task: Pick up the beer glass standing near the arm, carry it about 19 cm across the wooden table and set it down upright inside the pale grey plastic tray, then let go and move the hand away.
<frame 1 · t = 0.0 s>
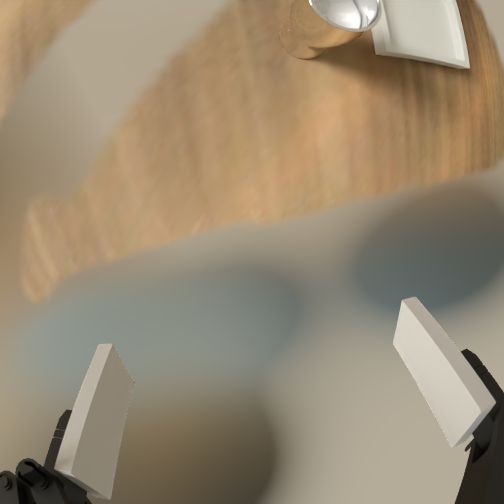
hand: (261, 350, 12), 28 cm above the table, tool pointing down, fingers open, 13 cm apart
beer glass: (302, 38, 29), on the table
tray: (412, 14, 27), on the table
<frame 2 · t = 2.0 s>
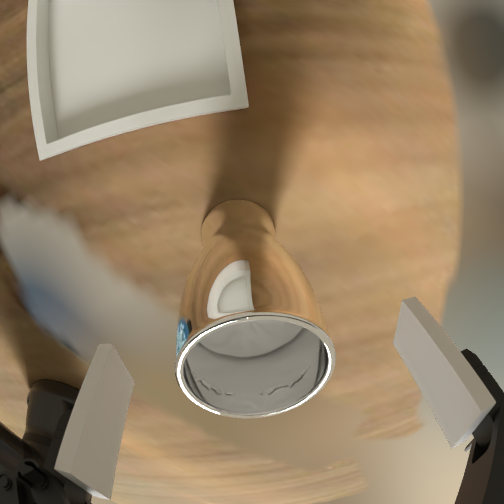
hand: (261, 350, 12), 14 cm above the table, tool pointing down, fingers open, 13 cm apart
beer glass: (237, 233, 25), on the table
tray: (129, 36, 17), on the table
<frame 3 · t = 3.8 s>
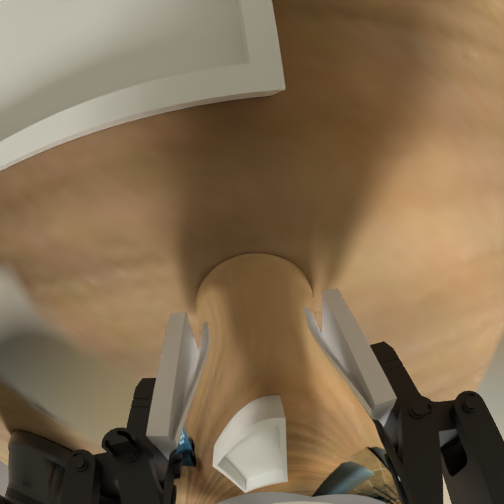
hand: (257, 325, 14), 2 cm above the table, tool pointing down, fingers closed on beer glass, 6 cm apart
beer glass: (254, 302, 16), on the table, touching gripper
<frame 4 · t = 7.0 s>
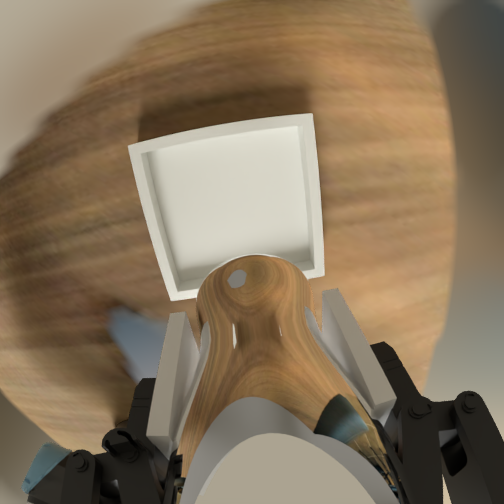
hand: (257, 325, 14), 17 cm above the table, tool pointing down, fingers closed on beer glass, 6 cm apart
beer glass: (254, 302, 16), point 15 cm above the table, touching gripper
tray: (233, 204, 29), on the table
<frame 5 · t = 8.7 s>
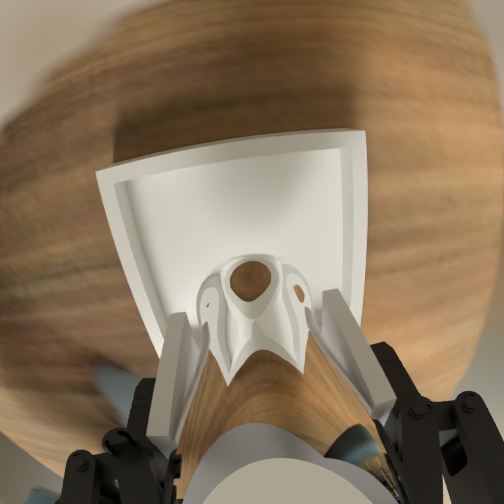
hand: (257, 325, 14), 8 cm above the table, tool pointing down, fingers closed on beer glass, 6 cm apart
beer glass: (254, 302, 16), point 7 cm above the table, touching gripper
tray: (245, 250, 21), on the table
when the fingers open (4 cm above the table, at t = 10.2 s): beer glass drops 2 cm, resting on tray.
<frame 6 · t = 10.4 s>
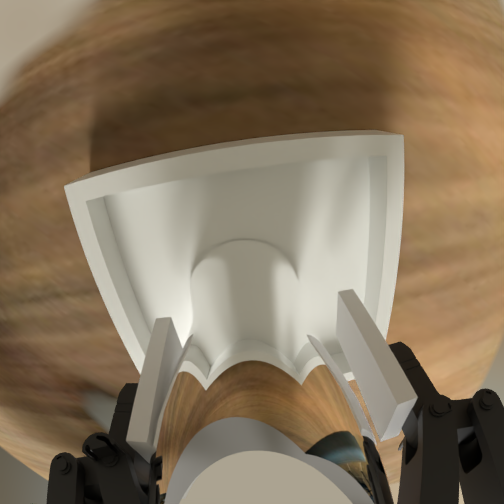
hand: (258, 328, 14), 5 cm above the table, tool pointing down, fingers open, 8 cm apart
beer glass: (243, 285, 17), point 1 cm above the table, touching gripper, tray
tray: (251, 277, 18), on the table
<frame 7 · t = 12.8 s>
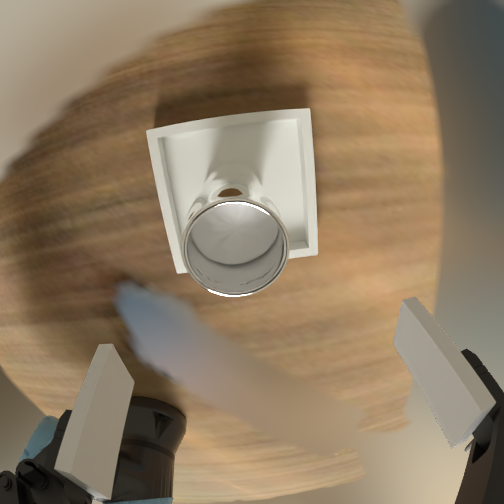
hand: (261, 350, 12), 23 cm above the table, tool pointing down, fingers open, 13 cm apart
beer glass: (232, 189, 31), point 1 cm above the table, touching tray
tray: (237, 187, 32), on the table
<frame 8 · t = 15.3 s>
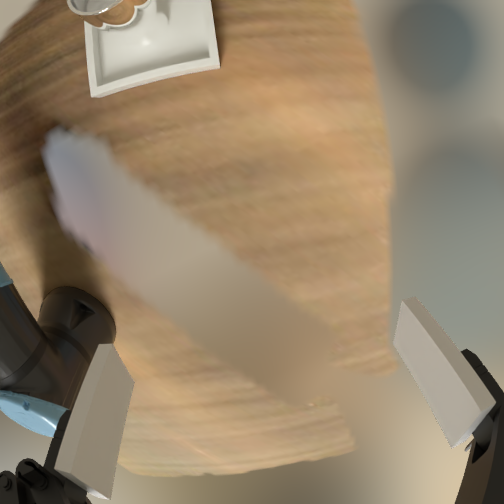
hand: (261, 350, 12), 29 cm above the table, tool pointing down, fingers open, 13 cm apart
beer glass: (145, 26, 27), point 1 cm above the table, touching tray
tray: (150, 27, 27), on the table
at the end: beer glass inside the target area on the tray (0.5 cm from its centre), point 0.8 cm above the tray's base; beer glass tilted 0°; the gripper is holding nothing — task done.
